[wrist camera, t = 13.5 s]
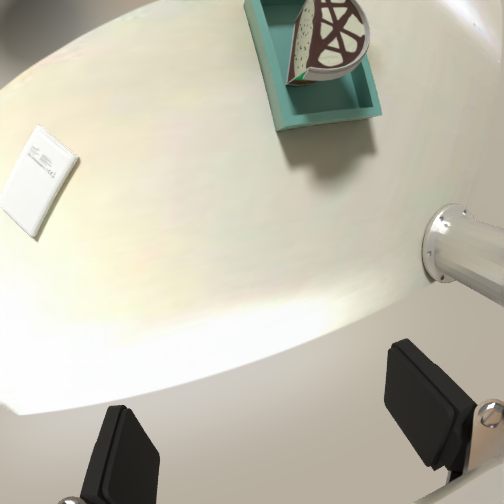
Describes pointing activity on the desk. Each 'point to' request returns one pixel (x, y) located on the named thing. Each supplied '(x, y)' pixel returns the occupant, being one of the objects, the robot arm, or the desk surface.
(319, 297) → the desk surface
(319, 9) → the food container
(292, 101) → the bin
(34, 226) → the external hard drive
